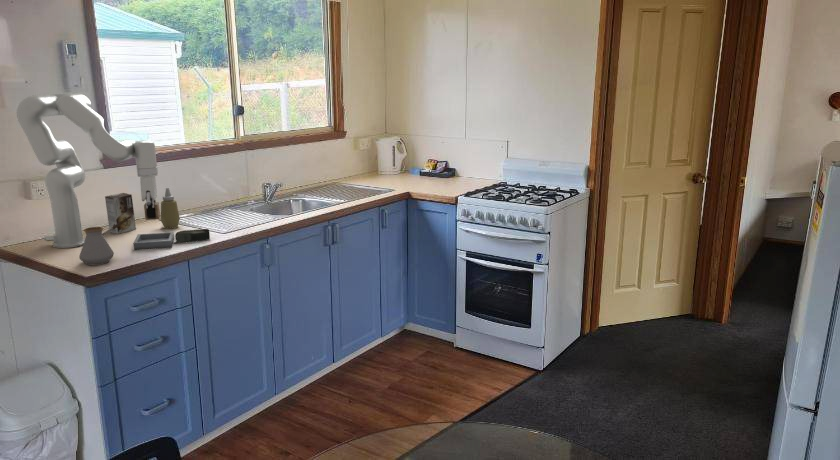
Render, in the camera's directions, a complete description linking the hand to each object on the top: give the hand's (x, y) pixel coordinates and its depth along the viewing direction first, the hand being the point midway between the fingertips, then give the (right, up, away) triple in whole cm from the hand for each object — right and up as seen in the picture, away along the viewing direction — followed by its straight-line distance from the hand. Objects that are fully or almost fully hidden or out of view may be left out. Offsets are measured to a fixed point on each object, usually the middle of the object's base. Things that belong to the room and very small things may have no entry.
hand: (152, 215), depth 251 cm
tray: (0, -12, +3) cm, 12 cm away
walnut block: (0, -1, 0) cm, 1 cm away
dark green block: (+13, -11, +8) cm, 19 cm away
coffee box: (-24, -6, +24) cm, 34 cm away
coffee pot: (-9, -17, -16) cm, 25 cm away
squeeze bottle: (-5, -5, +30) cm, 31 cm away
